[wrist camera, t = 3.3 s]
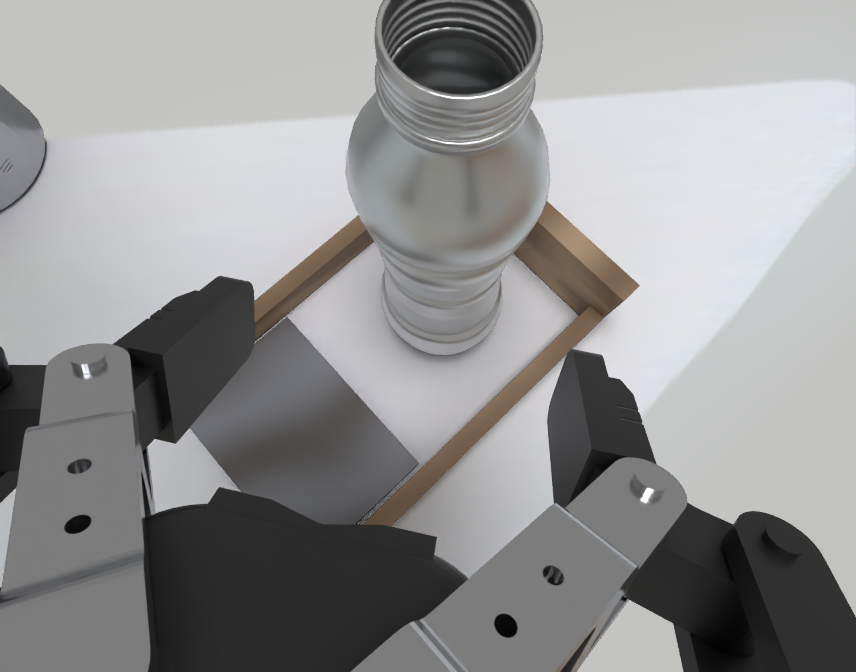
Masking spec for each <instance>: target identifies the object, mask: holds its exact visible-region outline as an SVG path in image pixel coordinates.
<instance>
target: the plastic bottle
mask: <svg viewBox="0 0 856 672" xmlns="http://www.w3.org/2000/svg"><path fill="white" fill-rule="evenodd" d="M542 42H543V32H542V23H541V20H540V17H539V14H538V11H537V10H536V8H535V6H534V4H533V3H532V1H531V0H383V2H382V3H381V5H380V7H379V11H378V14H377V18H376V26H375V48H376V57H377V63H376V66H375V85H376V93H375V94H374V95H373V96H372V97H371V98H370V99H369V101H368V102H367V103H366V104H365V105H364V107H363V108H362V109H361V111H360V113H359V115H358V117H357V119H356V120H355V122H354V125H353V129H352V133H351V136H350V140H349V145H348V150H347V155H346V179H347V185H348V190H349V193H350V196H351V198H352V201H353V203H354V205H355V208H356V210H357V212H358V214H359V217H360V219H361V221H362V223H363V224H364V226H365V227H366V229H367V231H368V232H369V234H370V235H371V237H372V239H373V240H374V242H375V244H376V245H377V247H378V248H379V250H380V253H381V256H382V258H383V261H384V273H383V277H382V286H381V300H382V306H383V310H384V313H385V315H386V318H387V320H388V322H389V323H390V325H391V326H392V328H393V329H394V331H395V332H396V333H397V334H398V335H399V336H400V337H401V338H402V339H403V340H405V341H406V342H407V343H409V344H410V345H412V346H413V347H415V348H417V349H419V350H421V351H423V352H426V353H430V354H435V355H451V354H457V353H460V352H463V351H465V350H468V349H469V348H471V347H473V346H474V345H476V344H478V343H479V342H481V341H482V340H483V339H484V338H485V337H486V336H487V335H488V334H489V333H490V332H491V330H492V329H493V327H494V326H495V324H496V322H497V319H498V317H499V314H500V309H501V301H502V291H501V281H500V279H501V273H502V271H503V269H504V267H505V265H506V263H507V261H508V260H509V258H510V257H511V256H512V255H513V254H514V252H515V251H516V250H517V249H518V247H519V246H520V245H521V244H522V243H523V242H524V240H525V239H526V237H527V236H528V235H529V233H530V232H531V230H532V229H533V227H534V226H535V224H536V222H537V220H538V219H539V217H540V215H541V213H542V211H543V208H544V206H545V203H546V201H547V198H548V192H549V186H550V168H549V156H548V146H547V143H546V140H545V136H544V133H543V129H542V128H541V126H540V124H539V122H538V120H537V118H536V116H535V114H534V113H533V111H532V110H531V108H530V107H531V104H532V101H533V96H534V91H535V75H536V72H537V68H538V65H539V62H540V58H541V53H542V47H543V46H542Z"/></svg>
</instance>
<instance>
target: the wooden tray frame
mask: <svg viewBox="0 0 856 672" xmlns="http://www.w3.org/2000/svg"><path fill="white" fill-rule="evenodd" d="M373 241H374V240H373V239H372V237H371V235H370V234H369V232H368V231H367V229H366V227H365V226H364V224H363V223H362V221H361V219H360V217H359V215H358V216H357V217H356V218H355V219H353V220H352V221H351V222H350V223H348V224H347V225H346V226H345V227H344V228H342V229H341V230H340V231H339V232H338V233H336V234H335V235H334V236H333V237H332V238H330V239H329V240H328V241H327V242H325V243H324V244H323V245H322V246H321V247H319V248H318V249H317V250H316V251H315V252H313V253H312V254H311V255H310V256H308V257H307V258H306V259H305V260H304V261H302V262H301V263H300V264H299V265H298V266H296V267H295V268H294V269H293V270H291V271H290V272H289V273H288V274H287V275H285V276H284V277H283V278H282V279H281V280H279V281H278V282H277V283H276V284H275V285H273V286H272V287H271V288H270V289H268V290H267V291H266V292H265V293H264V294H262V295H261V296H260V297H259V298H258V299H256V300H255V301H254V314H255V341H256V340H257V339H258V338H259V337H261V336H262V335H263V334H264V333H265V332H266V331H268V330H269V329H270V328H271V327H272V326H274V325H275V324H276V323H277V322H278V321H280V320H281V319H282V318H283V317H284V316H285V315H287V314H288V313H289V312H290V311H291V310H293V309H294V308H295V307H296V306H297V305H299V304H300V303H301V302H302V301H303V300H304V299H306V298H307V297H308V296H309V295H310V294H312V293H313V292H314V291H315V290H316V289H318V288H319V287H320V286H321V285H322V284H323V283H325V282H326V281H327V280H328V279H329V278H331V277H332V276H333V275H334V274H335V273H337V272H338V271H339V270H340V269H341V268H342V267H344V266H345V265H346V264H347V263H348V262H350V261H351V260H352V259H353V258H354V257H356V256H357V255H358V254H359V253H360V252H361V251H363V250H364V249H365V248H366V247H367V246H369V245H370V244H371V243H372V242H373ZM514 254H515V255H516V256H517V257H518V258H519V259H520V260H521V261H523V262H524V263H525V264H526V265H527V266H528V267H529V268H530V269H531V270H532V271H533V272H534V273H535V274H536V275H537V276H538V277H539V278H540V279H541V280H543V281H544V282H545V283H546V284H547V285H548V286H549V287H550V288H551V289H552V290H553V291H554V292H555V293H556V294H557V295H558V296H559V297H560V298H561V299H563V300H564V301H565V302H566V303H567V304H568V305H569V306H570V307H571V308H572V309H573V310H574V311H575V312H576V313H577V314H578V315H579V317H578V318H577V319H576V320H575V321H574V322H573V323H572V324H570V325H569V326H568V327H567V328H566V329H565V330H564V331H563V332H562V333H561V334H560V335H559V336H558V337H557V338H556V339H555V340H554V341H553V342H552V343H551V344H550V345H549V346H548V347H547V348H546V349H545V350H544V351H542V352H541V353H540V354H539V355H538V356H537V357H536V358H535V359H534V360H533V361H532V362H531V363H530V364H529V365H528V366H527V367H526V368H525V369H524V370H523V371H522V372H521V373H520V374H519V375H518V376H517V377H515V378H514V379H513V380H512V381H511V382H510V383H509V384H508V385H507V386H506V387H505V388H504V389H503V390H502V391H501V392H500V393H499V394H498V395H497V396H496V397H495V398H494V399H493V400H492V401H491V402H490V403H489V404H487V405H486V406H485V407H484V408H483V409H482V410H481V411H480V412H479V413H478V414H477V415H476V416H475V417H474V418H473V419H472V420H471V421H470V422H469V423H468V424H467V425H466V426H465V427H464V428H463V429H462V430H460V431H459V432H458V433H457V434H456V435H455V436H454V437H453V438H452V439H451V440H450V441H449V442H448V443H447V444H446V445H445V446H444V447H443V448H442V449H441V450H440V451H439V452H438V453H437V454H436V455H435V456H433V457H432V458H431V459H430V460H429V461H428V462H427V463H426V464H425V465H424V466H423V467H422V468H421V469H420V470H419V471H418V472H417V473H416V474H415V475H414V476H413V477H412V478H411V479H410V480H409V481H408V482H407V483H405V484H404V485H403V486H402V487H401V488H400V489H399V490H398V491H397V492H396V493H395V494H394V495H393V496H392V497H391V498H390V499H389V500H388V501H387V502H386V503H385V504H384V505H383V506H382V507H381V508H380V509H378V510H377V511H376V512H375V513H374V514H373V515H372V516H371V517H370V518H369V519H368V520H367V521H366V522H365V523H364V524H363V525H386V526H391V525H392V524H393V523H394V522H395V521H396V520H397V519H398V518H399V517H400V516H401V515H402V514H403V513H404V512H405V511H406V510H407V509H409V508H410V507H411V506H412V505H413V504H414V503H415V502H416V501H417V500H418V499H419V498H420V497H421V496H422V495H423V494H424V493H425V492H426V491H427V490H428V489H429V488H430V487H431V486H432V485H433V484H434V483H435V482H436V481H437V480H438V479H439V478H440V477H441V476H442V475H443V474H444V473H445V472H446V471H447V470H448V469H449V468H451V467H452V466H453V465H454V464H455V463H456V462H457V461H458V460H459V459H460V458H461V457H462V456H463V455H464V454H465V453H466V452H467V451H468V450H469V449H470V448H471V447H472V446H473V445H474V444H475V443H476V442H477V441H478V440H479V439H480V438H481V437H482V436H483V435H484V434H485V433H486V432H487V431H488V430H489V429H490V428H492V427H493V426H494V425H495V424H496V423H497V422H498V421H499V420H500V419H501V418H502V417H503V416H504V415H505V414H506V413H507V412H508V411H509V410H510V409H511V408H512V407H513V406H514V405H515V404H516V403H517V402H518V401H519V400H520V399H521V398H522V397H523V396H524V395H525V394H526V393H527V392H528V391H529V390H530V389H531V388H532V387H534V386H535V385H536V384H537V383H538V382H539V381H540V380H541V379H542V378H543V377H544V376H545V375H546V374H547V373H548V372H549V371H550V370H551V369H552V368H553V367H554V366H555V365H556V364H557V363H558V362H559V361H560V360H561V359H562V358H563V357H564V356H565V355H566V354H567V353H568V352H569V350H570V349H572V348H573V347H574V346H576V345H577V344H578V343H579V342H580V341H581V340H582V339H583V338H584V337H585V336H586V335H587V334H588V333H589V332H590V331H591V330H592V329H593V328H594V327H595V326H596V325H597V324H598V323H599V322H600V321H601V320H602V319H603V318H604V317H605V316H607V315H608V314H609V313H610V312H611V311H613V310H614V309H615V308H616V307H617V306H619V305H620V304H621V303H622V302H623V301H625V300H626V299H627V298H628V297H629V296H630V295H631V294H632V293H633V292H634V291H635V290H636V289H637V288H638V287H639V286H640V285H639V284H638V283H637V282H635V281H634V280H633V279H632V278H631V277H630V276H629V275H628V274H627V273H625V272H624V271H623V270H622V269H621V268H620V267H619V266H618V265H617V264H616V263H614V262H613V261H612V260H611V259H610V258H609V257H608V256H607V255H606V254H605V253H603V252H602V251H601V250H600V249H599V248H598V247H597V246H596V245H595V244H594V243H592V242H591V241H590V240H589V239H588V238H587V237H586V236H585V235H584V234H583V233H581V232H580V231H579V230H578V229H577V228H576V227H575V226H574V225H573V224H572V223H570V222H569V221H568V220H567V219H566V218H565V217H564V216H563V215H562V214H561V213H559V212H558V211H557V210H556V209H555V208H554V207H553V206H552V205H551V204H550V203H548V202H547V201H546V203H545V206H544V208H543V211H542V213H541V215H540V217H539V219H538V220H537V222H536V224H535V226H534V227H533V229H532V230H531V232H530V233H529V235H528V236H527V237H526V239H525V240H524V242H523V243H522V244H521V245H520V246H519V247H518V249H517V250H516V251H515V252H514ZM190 429H191V430H192V431H193V432H194V434H195V435H196V436H197V437H198V439H199V440H200V441H201V442H202V444H203V445H204V446H205V447H206V449H207V450H208V451H209V452H210V454H211V455H212V456H213V457H214V458H215V460H216V461H217V462H218V463H219V465H220V466H221V467H222V468H223V470H224V471H225V472H226V473H227V475H228V476H229V477H230V478H231V480H232V481H233V482H234V483H235V485H236V486H237V487H238V488H239V489H240V491H241V492H242V493H246V494H251V495H255V496H259V497H264V498H268V499H272V500H274V501H276V502H278V503H280V504H282V505H284V506H286V507H288V508H290V509H292V510H294V511H296V512H298V513H300V514H302V515H304V516H306V517H308V518H310V519H312V520H314V521H316V522H318V523H321V524H337V525H355V524H356V523H357V522H358V521H359V520H360V519H361V518H362V517H363V516H364V515H365V514H366V513H368V512H369V511H370V510H371V509H372V508H373V507H374V506H375V505H376V504H377V503H378V502H379V501H380V500H381V499H382V498H383V497H384V496H385V495H386V494H387V493H388V492H389V491H390V490H391V489H393V488H394V487H395V486H396V485H397V484H398V483H399V482H400V481H401V480H402V479H403V478H404V477H405V476H406V475H407V474H408V473H409V472H410V471H411V470H412V469H413V468H414V467H415V466H416V465H418V464H419V463H418V462H417V461H416V460H415V459H414V458H413V456H412V455H411V454H410V453H409V452H408V451H407V450H406V449H405V448H404V446H403V445H402V444H401V443H400V442H399V441H398V440H397V439H396V438H395V436H394V435H393V434H392V433H391V432H390V431H389V430H388V429H387V428H386V426H385V425H384V424H383V423H382V422H381V421H380V420H379V419H378V418H377V416H376V415H375V414H374V413H373V412H372V411H371V410H370V409H369V408H368V406H367V405H366V404H365V403H364V402H363V401H362V400H361V399H360V398H359V397H358V395H357V394H356V393H355V392H354V391H353V390H352V389H351V388H350V387H349V385H348V384H347V383H346V382H345V381H344V380H343V379H342V378H341V377H340V375H339V374H338V373H337V372H336V371H335V370H334V369H333V368H332V367H331V365H330V364H329V363H328V362H327V361H326V360H325V359H324V358H323V357H322V355H321V354H320V353H319V352H318V351H317V350H316V349H315V348H314V347H313V346H312V344H311V343H310V342H309V341H308V340H307V339H306V338H305V337H304V336H303V334H302V333H301V332H300V331H299V330H298V329H297V328H296V327H295V326H294V324H293V323H292V322H291V321H290V320H289V319H288V318H287V317H286V318H285V319H284V320H283V321H282V322H280V323H279V324H278V325H277V326H276V327H275V328H273V329H272V330H271V331H270V332H269V333H267V334H266V335H265V336H264V337H263V338H261V339H260V340H259V341H258V342H257V343H256V344H254V347H253V350H252V352H251V355H250V356H249V358H248V359H247V361H246V362H245V363H244V364H243V365H242V366H241V368H240V369H239V370H238V371H237V372H236V373H235V375H234V376H233V377H232V378H231V379H230V381H229V382H228V383H227V384H226V385H225V386H224V388H223V389H222V390H221V391H220V392H219V393H218V395H217V396H216V397H215V398H214V399H213V401H212V402H211V403H210V404H209V405H208V406H207V408H206V409H205V410H204V411H203V412H202V413H201V415H200V416H199V417H198V418H197V419H196V421H195V422H194V423H193V424H192V425H191V426H190Z"/></svg>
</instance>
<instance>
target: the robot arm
mask: <svg viewBox="0 0 856 672" xmlns="http://www.w3.org/2000/svg"><path fill="white" fill-rule="evenodd" d="M44 153H45V139H44V134H43V130H42V128H41V126H40V124H39V121H38V120H37V118H36V117H35V116H34V115H33V114H32V113H31V112H30V110H28V109H27V108H26V107H25V106H24V105H23V104H22V103H21V102H19V101H18V100H17V99H16V98H15V97H14V96H13V95H12V94H10V93H9V92H8V91H7V90H6V89H5V88H4V87H3V86H1V85H0V210H2V209H3V208H5V207H7V206H9V205H10V204H12V203H13V202H14V201H15V200H16V199H17V198H19V197H20V196H21V195H22V194H23V193H24V192H25V191H26V190H27V188H28V187H29V186H30V185H31V184H32V182H33V181H34V179H35V177H36V176H37V174H38V172H39V170H40V168H41V165H42V161H43V158H44ZM254 342H255V314H254V290H253V286H252V284H251V283H250V282H248V281H243V280H238V279H233V278H228V277H223V276H218V277H217V278H215V279H214V280H213V281H211V282H210V283H209V284H208V285H206V286H205V287H204V288H202V289H201V290H200V291H196V290H195V291H192V292H190V293H187V294H184V295H181V296H179V297H176V298H174V299H173V300H172V301H170V302H169V303H168V304H166V305H165V306H164V307H162V309H161V310H158V311H157V312H156V313H154V314H153V315H151V316H150V319H146V320H145V321H143V322H142V323H141V324H139V325H138V326H137V327H135V328H134V329H133V330H131V331H130V332H129V333H127V334H126V335H125V336H123V337H122V338H121V339H119V340H118V341H117V342H115V343H114V344H113V345H111V344H88V345H82V346H78V347H74V348H71V349H68V350H66V351H64V352H62V353H60V354H58V355H56V356H55V357H54V358H52V359H51V360H50V361H49V363H48V364H47V365H8V362H7V359H6V356H5V353H4V350H3V349H2V347H0V503H1V502H2V501H3V500H4V499H5V498H6V497H7V496H8V495H9V494H10V493H11V492H12V491H13V490H14V489H15V488H16V487H17V488H16V495H15V502H14V508H13V515H12V522H11V529H10V535H9V542H8V549H7V555H6V562H5V569H4V576H3V582H2V587H1V588H0V672H577V670H578V669H579V667H580V666H581V664H582V663H583V662H584V660H585V659H586V657H587V656H588V655H589V653H590V652H591V651H592V649H593V648H594V647H595V645H596V644H597V643H598V641H599V640H600V639H601V637H602V636H603V634H604V633H605V632H606V630H607V629H608V628H609V626H610V625H611V624H612V622H613V621H614V620H615V618H616V617H617V616H618V614H619V613H620V611H621V610H622V609H623V607H624V606H625V605H626V603H627V602H628V601H629V600H631V601H633V602H635V603H636V604H638V605H640V606H642V607H644V608H646V609H648V610H650V611H652V612H653V613H655V614H657V615H659V616H661V617H663V618H664V619H666V620H668V621H670V622H672V623H673V624H674V629H675V634H676V638H677V643H678V648H679V652H680V657H681V662H682V667H683V671H684V672H856V617H855V615H854V613H853V611H852V609H851V607H850V606H849V604H848V602H847V600H846V598H845V596H844V594H843V593H842V591H841V589H840V587H839V585H838V583H837V581H836V580H835V578H834V576H833V574H832V572H831V570H830V568H829V566H828V565H827V563H826V561H825V559H824V558H823V556H822V554H821V552H820V551H819V549H818V548H817V547H816V546H815V544H814V543H813V542H812V541H811V540H810V539H809V538H808V537H807V536H806V535H804V534H803V533H802V532H801V531H799V530H798V529H797V528H795V527H794V526H792V525H791V524H789V523H788V522H786V521H784V520H782V519H780V518H778V517H775V516H773V515H770V514H767V513H763V512H756V511H751V512H745V513H743V514H741V515H740V516H739V517H738V519H737V520H736V521H735V523H734V524H731V523H728V522H726V521H724V520H722V519H720V518H717V517H715V516H713V515H710V514H709V513H706V512H704V511H702V510H700V509H698V508H696V507H694V506H692V505H690V504H689V503H687V496H686V493H685V491H684V489H683V487H682V485H681V484H680V483H679V482H678V481H677V479H676V478H675V477H674V476H673V475H671V474H670V473H669V472H667V471H666V470H665V469H664V468H662V467H660V466H658V465H657V464H656V461H655V458H654V455H653V452H652V449H651V446H650V443H649V441H648V437H647V434H646V431H645V428H644V426H643V425H642V419H641V416H640V413H639V412H638V407H637V404H636V401H635V398H634V395H633V394H632V392H631V391H630V390H629V389H628V388H627V387H626V386H625V385H624V383H623V382H622V381H621V380H620V379H615V378H610V377H608V373H607V370H606V366H605V362H604V359H603V356H602V355H599V354H594V353H589V352H584V351H579V350H574V349H570V350H569V352H568V353H567V356H566V358H565V361H564V364H563V367H562V370H561V372H560V375H559V378H558V381H557V384H556V387H555V390H554V392H553V395H552V398H551V401H550V405H549V411H548V419H547V425H548V437H549V449H550V461H551V473H552V485H553V497H554V504H553V505H552V506H550V507H549V508H548V509H547V510H546V511H544V512H543V513H542V514H541V515H540V516H539V517H538V518H537V519H535V520H534V521H533V522H532V523H531V524H530V525H529V526H528V527H526V528H525V529H524V530H523V531H522V532H521V533H520V534H519V535H517V536H516V537H515V538H514V539H513V540H512V541H511V542H510V543H508V544H507V545H506V546H505V547H504V548H503V549H502V550H501V551H499V552H498V553H497V554H496V555H495V556H494V557H493V558H492V559H490V560H489V561H488V562H487V563H486V564H485V565H484V566H483V567H481V568H480V569H479V570H478V571H477V572H476V573H475V574H474V575H472V576H471V577H470V578H469V579H468V578H467V577H466V576H465V575H464V574H463V573H461V572H460V571H459V570H458V569H456V568H455V567H454V566H452V565H451V564H449V563H448V562H446V561H445V560H443V559H441V558H439V557H437V556H435V555H434V551H435V545H436V539H437V537H434V536H430V535H425V534H421V533H416V532H412V531H408V530H403V529H399V528H395V527H390V526H386V525H337V524H321V523H318V522H316V521H314V520H312V519H310V518H308V517H306V516H304V515H302V514H300V513H298V512H296V511H294V510H292V509H290V508H288V507H286V506H284V505H282V504H280V503H278V502H276V501H274V500H272V499H268V498H264V497H259V496H255V495H251V494H246V493H242V492H237V491H233V490H229V489H224V488H220V487H219V488H218V490H217V491H216V493H215V494H214V496H213V497H212V499H211V500H210V502H209V503H208V504H198V505H187V506H182V507H177V508H172V509H169V510H165V511H162V512H158V513H156V514H155V505H154V496H153V488H152V479H151V470H150V461H149V454H148V449H147V446H148V445H149V444H150V443H151V442H152V441H153V440H154V439H158V440H162V441H167V442H171V443H175V444H176V443H177V442H178V440H179V439H180V438H181V437H182V436H183V435H184V433H185V432H186V431H187V430H188V429H189V428H190V426H191V425H192V424H193V423H194V422H195V421H196V419H197V418H198V417H199V416H200V415H201V413H202V412H203V411H204V410H205V409H206V408H207V406H208V405H209V404H210V403H211V402H212V401H213V399H214V398H215V397H216V396H217V395H218V393H219V392H220V391H221V390H222V389H223V388H224V386H225V385H226V384H227V383H228V382H229V381H230V379H231V378H232V377H233V376H234V375H235V373H236V372H237V371H238V370H239V369H240V368H241V366H242V365H243V364H244V363H245V362H246V361H247V359H248V358H249V356H250V355H251V352H252V350H253V347H254Z"/></svg>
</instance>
